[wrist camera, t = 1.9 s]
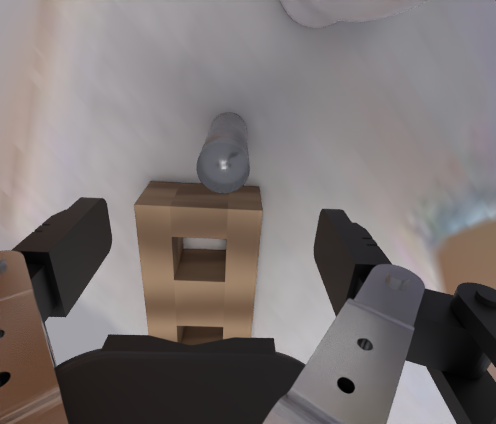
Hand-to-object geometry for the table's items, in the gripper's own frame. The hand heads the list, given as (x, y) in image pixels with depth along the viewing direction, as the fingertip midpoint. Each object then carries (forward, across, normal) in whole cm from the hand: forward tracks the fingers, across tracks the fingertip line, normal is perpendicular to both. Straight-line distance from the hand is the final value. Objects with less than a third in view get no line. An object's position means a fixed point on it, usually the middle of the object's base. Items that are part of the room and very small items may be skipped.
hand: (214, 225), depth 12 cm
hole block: (+17, +2, +15) cm, 22 cm away
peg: (+16, 0, 0) cm, 17 cm away
